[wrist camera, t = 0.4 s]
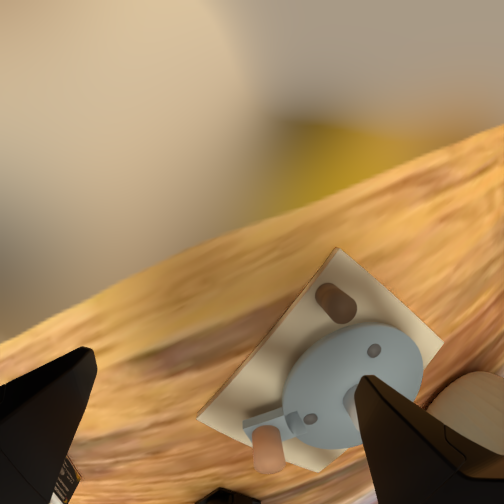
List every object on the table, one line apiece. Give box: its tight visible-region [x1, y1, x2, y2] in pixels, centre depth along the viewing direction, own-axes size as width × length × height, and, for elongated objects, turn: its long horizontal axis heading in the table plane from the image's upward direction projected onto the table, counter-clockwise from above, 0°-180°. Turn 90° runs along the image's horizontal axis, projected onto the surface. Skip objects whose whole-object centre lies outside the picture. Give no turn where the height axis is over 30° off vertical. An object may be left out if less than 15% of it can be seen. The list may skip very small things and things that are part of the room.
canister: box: [426, 371, 504, 455], centre depth 16 cm, size 18×18×21 cm
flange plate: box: [242, 322, 423, 474], centre depth 20 cm, size 16×13×5 cm
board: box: [196, 247, 444, 473], centre depth 22 cm, size 20×16×5 cm
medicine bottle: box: [49, 456, 81, 504], centre depth 20 cm, size 7×7×12 cm
